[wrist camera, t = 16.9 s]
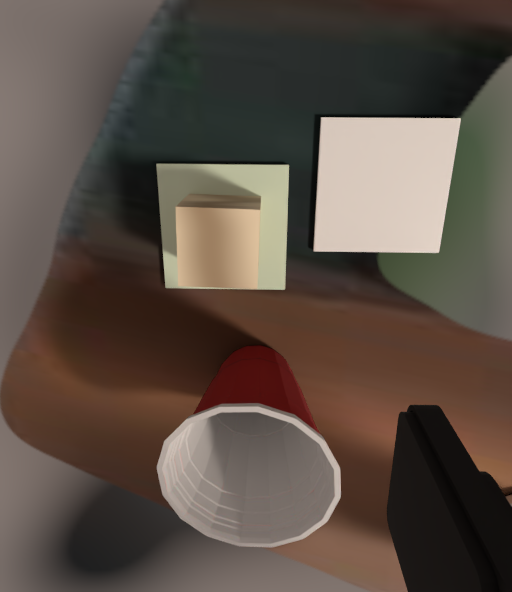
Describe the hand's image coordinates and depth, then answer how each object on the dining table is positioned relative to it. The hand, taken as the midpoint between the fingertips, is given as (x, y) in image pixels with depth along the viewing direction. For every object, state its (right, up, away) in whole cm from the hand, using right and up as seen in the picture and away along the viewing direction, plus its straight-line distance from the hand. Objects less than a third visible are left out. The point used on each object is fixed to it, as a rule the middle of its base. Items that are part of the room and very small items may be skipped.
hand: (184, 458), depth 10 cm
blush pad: (+10, +11, +21) cm, 26 cm away
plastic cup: (+1, -3, +27) cm, 27 cm away
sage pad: (-1, +8, +22) cm, 24 cm away
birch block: (-1, +8, +22) cm, 24 cm away
